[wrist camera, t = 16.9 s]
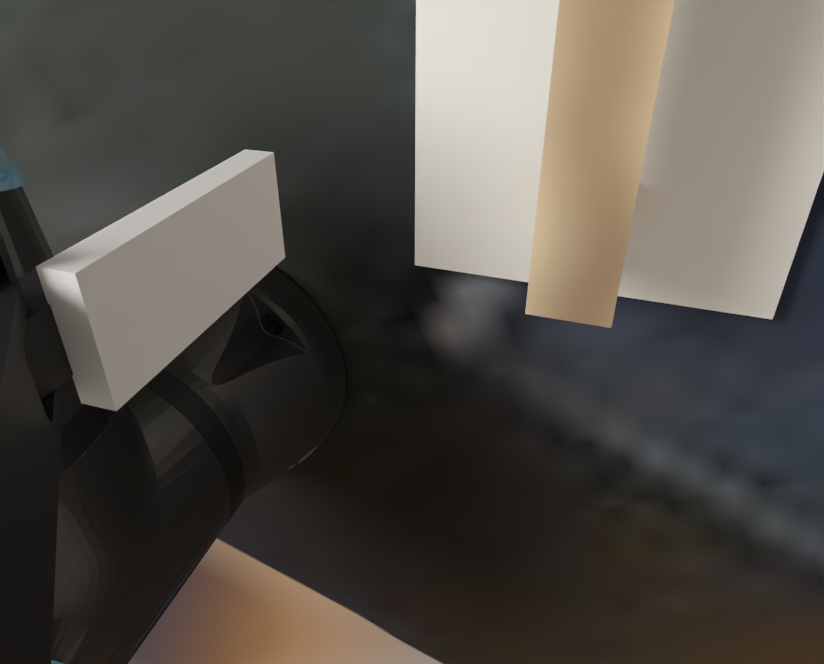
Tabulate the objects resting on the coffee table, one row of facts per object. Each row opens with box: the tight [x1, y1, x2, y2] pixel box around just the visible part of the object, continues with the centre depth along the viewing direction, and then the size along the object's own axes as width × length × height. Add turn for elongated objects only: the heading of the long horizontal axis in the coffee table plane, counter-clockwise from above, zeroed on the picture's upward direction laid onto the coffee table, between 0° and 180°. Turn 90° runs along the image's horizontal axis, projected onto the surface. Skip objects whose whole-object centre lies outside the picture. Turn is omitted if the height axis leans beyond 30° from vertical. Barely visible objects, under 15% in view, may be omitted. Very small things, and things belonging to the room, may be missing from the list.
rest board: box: [415, 0, 824, 319], centre depth 25 cm, size 16×21×1 cm
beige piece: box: [525, 0, 675, 328], centre depth 22 cm, size 14×17×7 cm
